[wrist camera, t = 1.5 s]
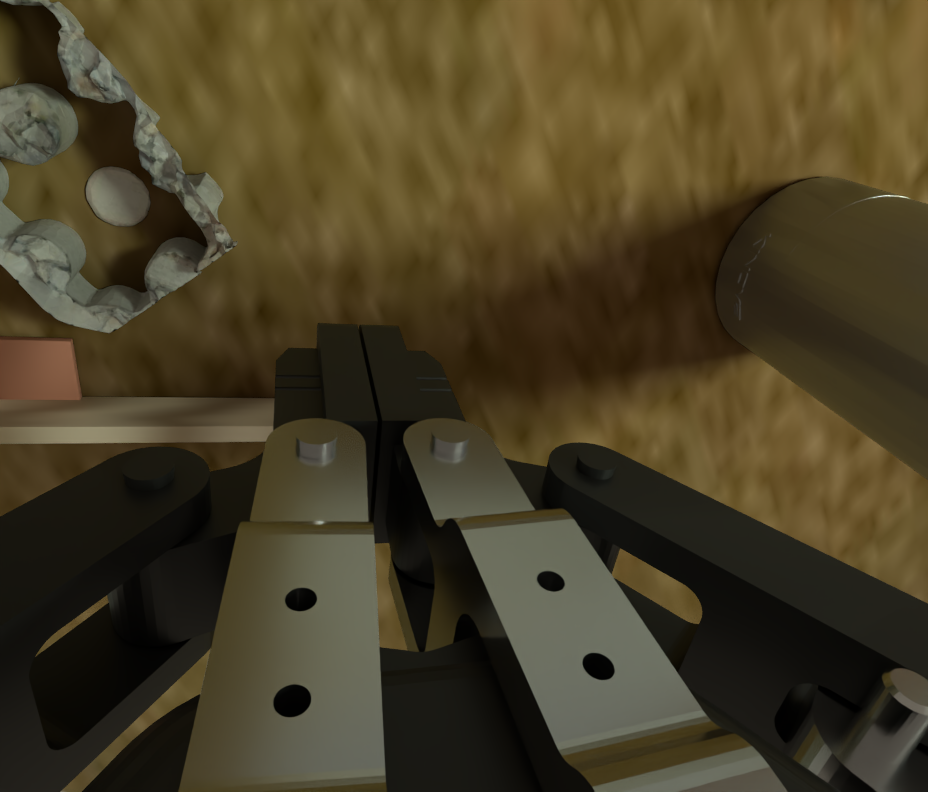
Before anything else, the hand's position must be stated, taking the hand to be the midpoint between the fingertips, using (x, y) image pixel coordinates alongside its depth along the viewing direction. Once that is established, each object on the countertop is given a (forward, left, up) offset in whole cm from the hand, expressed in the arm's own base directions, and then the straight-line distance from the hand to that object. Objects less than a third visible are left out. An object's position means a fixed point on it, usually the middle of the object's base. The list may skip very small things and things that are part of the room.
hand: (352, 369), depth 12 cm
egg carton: (+9, 0, -17) cm, 19 cm away
